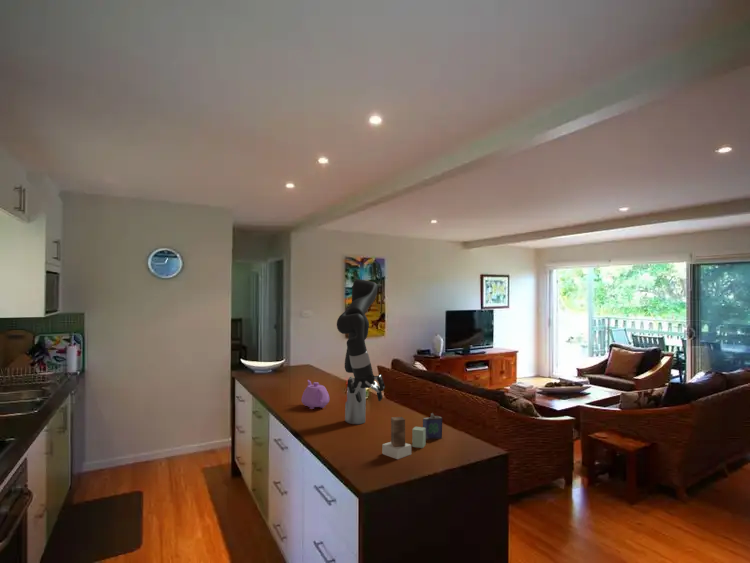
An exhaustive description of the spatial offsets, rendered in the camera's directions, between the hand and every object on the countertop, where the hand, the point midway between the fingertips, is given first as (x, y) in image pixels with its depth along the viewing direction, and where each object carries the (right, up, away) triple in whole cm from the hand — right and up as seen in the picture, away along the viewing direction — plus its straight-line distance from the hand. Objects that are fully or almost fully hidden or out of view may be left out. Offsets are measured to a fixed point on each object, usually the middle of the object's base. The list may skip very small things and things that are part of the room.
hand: (370, 400), depth 167 cm
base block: (+10, -20, -3) cm, 23 cm away
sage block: (+20, -21, +7) cm, 30 cm away
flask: (+27, -21, +17) cm, 38 cm away
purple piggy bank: (-32, -24, +70) cm, 81 cm away
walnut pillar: (+11, -16, -3) cm, 20 cm away
